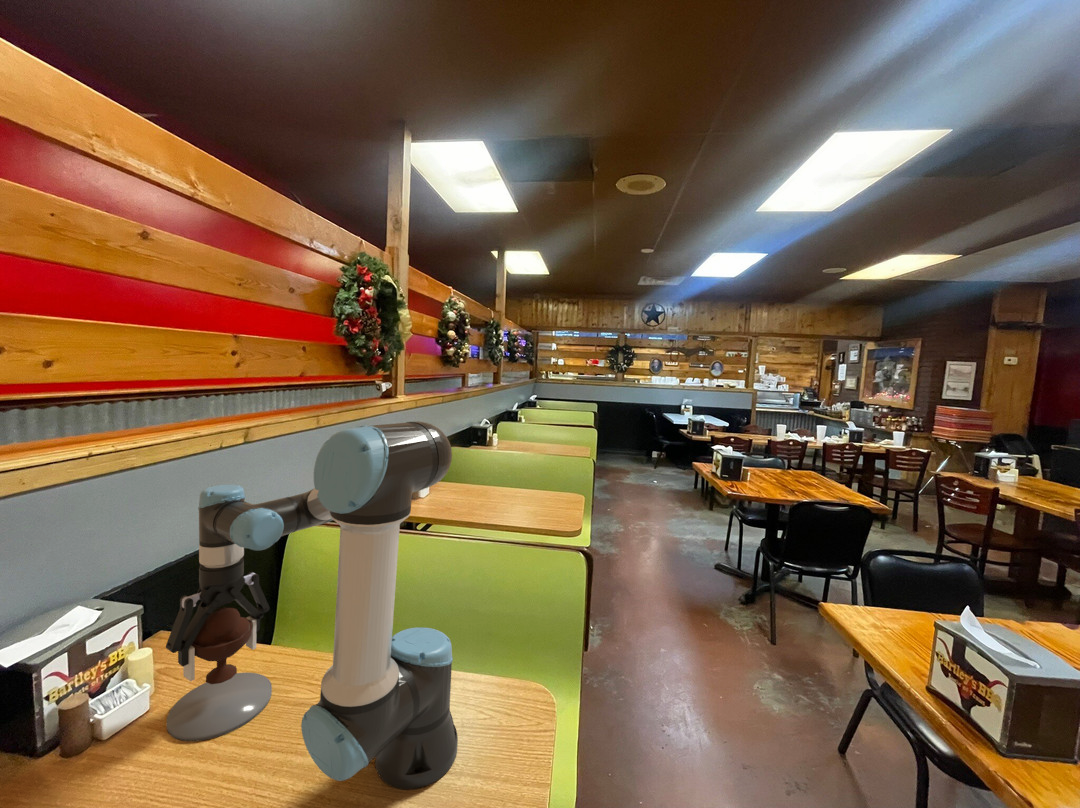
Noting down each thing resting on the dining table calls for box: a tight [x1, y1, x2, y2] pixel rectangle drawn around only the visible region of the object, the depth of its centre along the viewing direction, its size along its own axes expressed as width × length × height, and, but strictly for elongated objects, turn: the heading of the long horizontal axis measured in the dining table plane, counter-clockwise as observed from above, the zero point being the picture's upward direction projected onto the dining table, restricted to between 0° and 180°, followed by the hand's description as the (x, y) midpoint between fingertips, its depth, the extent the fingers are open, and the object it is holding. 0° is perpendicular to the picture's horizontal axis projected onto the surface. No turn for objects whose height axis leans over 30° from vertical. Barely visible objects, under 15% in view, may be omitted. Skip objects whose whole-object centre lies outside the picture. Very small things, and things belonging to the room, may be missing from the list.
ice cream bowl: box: [191, 606, 252, 684], centre depth 92 cm, size 11×11×15 cm
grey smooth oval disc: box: [165, 672, 273, 742], centre depth 93 cm, size 18×18×1 cm
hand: (221, 661), depth 93 cm, fingers closed on ice cream bowl, 11 cm apart
